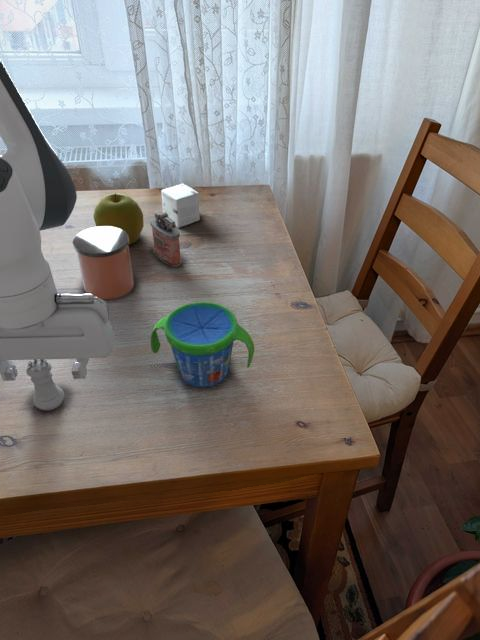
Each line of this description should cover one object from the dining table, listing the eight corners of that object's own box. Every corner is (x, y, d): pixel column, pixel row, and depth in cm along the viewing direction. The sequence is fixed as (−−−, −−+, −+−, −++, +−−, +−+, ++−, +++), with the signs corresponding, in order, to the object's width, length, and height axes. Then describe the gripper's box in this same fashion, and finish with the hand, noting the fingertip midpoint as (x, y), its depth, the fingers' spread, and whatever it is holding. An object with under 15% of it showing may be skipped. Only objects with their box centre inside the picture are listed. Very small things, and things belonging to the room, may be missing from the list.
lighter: (150, 253, 107) (144, 208, 101) (164, 248, 109) (160, 204, 102) (171, 271, 103) (167, 225, 96) (185, 266, 105) (183, 220, 98)
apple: (89, 239, 111) (80, 190, 103) (130, 225, 116) (123, 178, 108) (113, 259, 105) (105, 209, 98) (155, 244, 110) (149, 195, 103)
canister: (79, 303, 94) (67, 253, 87) (88, 274, 101) (78, 225, 94) (132, 303, 95) (124, 253, 88) (138, 274, 102) (131, 226, 95)
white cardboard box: (163, 220, 118) (160, 189, 113) (185, 212, 121) (183, 182, 116) (178, 231, 115) (176, 199, 110) (200, 223, 118) (199, 192, 113)
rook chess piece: (73, 399, 77) (61, 359, 71) (52, 419, 74) (38, 379, 68) (49, 388, 78) (36, 349, 73) (27, 408, 75) (12, 368, 70)
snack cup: (142, 384, 80) (134, 333, 73) (171, 341, 87) (166, 291, 80) (239, 409, 77) (240, 358, 70) (260, 362, 84) (263, 313, 78)
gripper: (109, 279, 66) (125, 359, 76) (-59, 282, 65) (-22, 363, 74) (101, 310, 62) (119, 391, 71) (-80, 313, 60) (-38, 395, 69)
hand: (46, 376), depth 73 cm, fingers open, 8 cm apart
